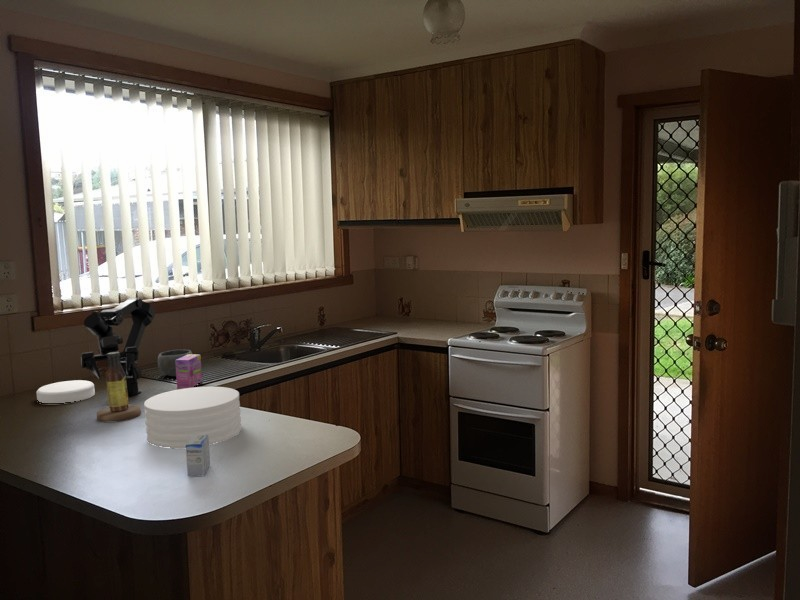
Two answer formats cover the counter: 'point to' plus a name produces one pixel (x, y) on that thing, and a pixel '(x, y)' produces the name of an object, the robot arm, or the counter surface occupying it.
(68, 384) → the container
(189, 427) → the plate stack
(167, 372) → the bowl
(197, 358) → the box
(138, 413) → the stand
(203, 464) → the medicine box
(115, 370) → the sauce bottle
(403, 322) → the counter surface
